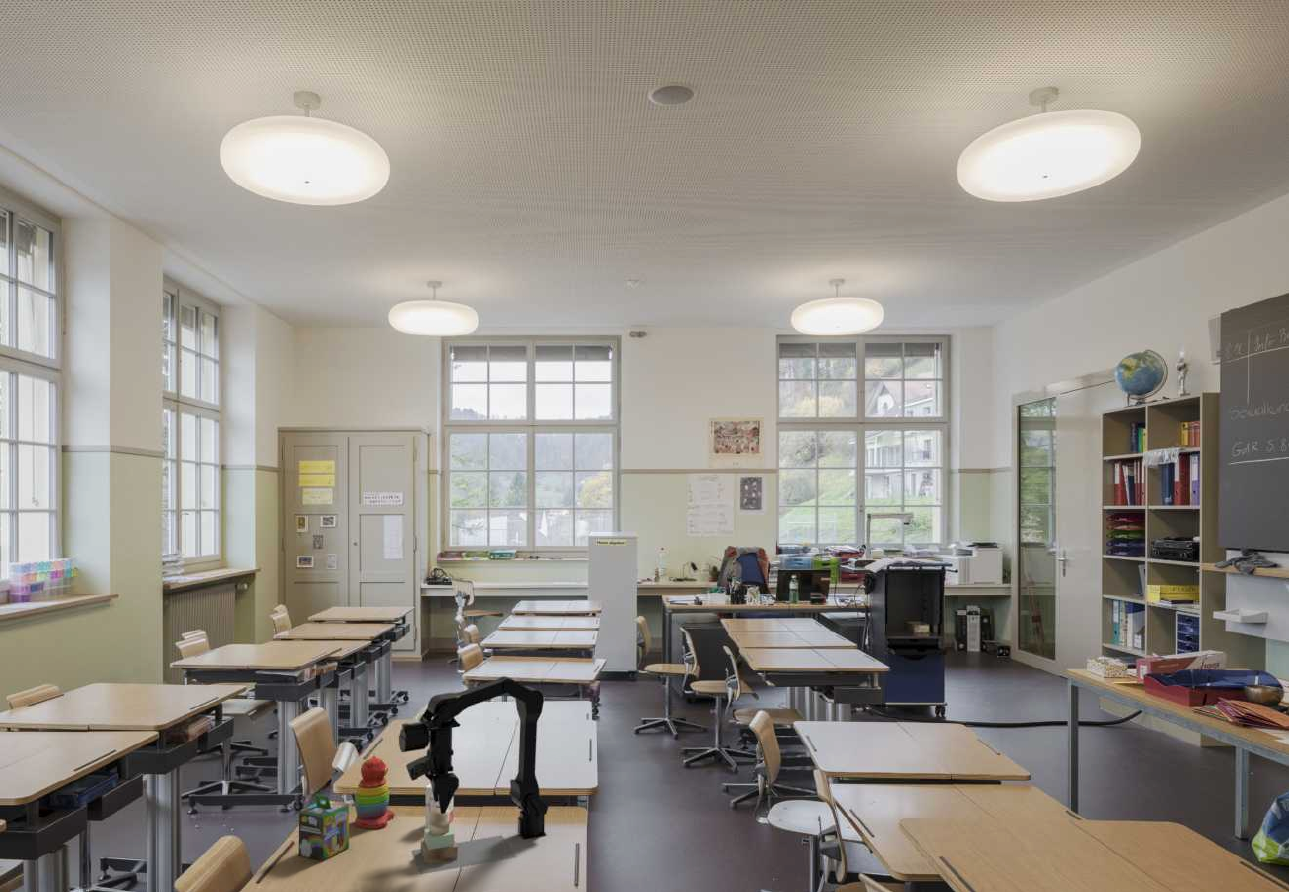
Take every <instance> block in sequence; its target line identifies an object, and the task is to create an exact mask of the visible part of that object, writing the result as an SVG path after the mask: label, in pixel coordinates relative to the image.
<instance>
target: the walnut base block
mask: <svg viewBox="0 0 1289 892" xmlns="http://www.w3.org/2000/svg"><path fill="white" fill-rule="evenodd" d="M456 843H457V842H456V841H455V840H454V846H452V847H446V848H440V849H434V850H428V849H427V846H426V844H425V842H424V839H421V840H420V849H421V855H422V857H423V860H424V862H425V864H431V863H437V862H442V861H448V860H454V859H458V846H457V844H456Z"/></svg>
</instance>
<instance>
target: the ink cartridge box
mask: <svg viewBox="0 0 1289 892" xmlns="http://www.w3.org/2000/svg"><path fill="white" fill-rule="evenodd" d="M448 773H454V770H453V771H450V772H448ZM454 796H455V794H454V795H453V797H452V799H451V801H450V804H449V806H448V808H447V809H449V824H450V823H451V822H452V821H453V820H454ZM438 808H440V805H439V801H438V802H435V801H434V796H433V792H432V787H431V783H429V784H428V785H427V786H425V829H428V828H429V815H430V811H431V810H434V809H438Z"/></svg>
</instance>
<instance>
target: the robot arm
mask: <svg viewBox="0 0 1289 892" xmlns="http://www.w3.org/2000/svg"><path fill="white" fill-rule="evenodd" d="M506 694H507V695H509V696H510V697H512V698H514V699H515V706H516V711H517V714H518V718H519V722H520V723H519V741H518V742H519V744H518V768H517V775H516V776H515V779H510V780H509V781H510V782H509V784H510V788H509V789H510V791H509V793H508V794H509V795H510V796H511V800H512V801H513V803H515V804H516V805H517V809H519V810H520V811H519V816H518V817H517V833H518V835H519V836H520V837H521V838H522V840H530V839H535V838H536V839H537V838H542V837H546V836H547V833H546V832H545V821H546V820H545V816H546V815H547V813H548V810H549V806H548V805H547V804H546V803H545V802H544V801H543V800H542V799H541V793H540V786H539V783H538V780H537V776H536V758H537V738H538V736H537V733H538V732H537V731H538V721H539V719H540V717H541V714H542V713H543V708H544V703H545V697H544V694H543V693H542V692H541V691H540V690H538V689H536V688H533V687H531V686H529V685H525V686H523V685H522V684H521V683H518V682H516V681H515V680H514V679H513V678H510V677H508V676H506V675H503V676H501V677H498V678H497V679H494V680H491V681H488V682H486V683H483V684H480V685H477V686H474V687H471V688H468V689H466V690H463V691H459V692H447V693H440V694H435V695H433V696H432V697H431V698H430V699H429V701H428V702H427V703H428V704H427V708H426V709H425V711H424V712H423V714H422V715H421V716H420V717H419V719H418V722H413V723H402V724H401V729H400V732H399V735H398V746H399V750H400V752H401V753H407V752H413V751H420V750H424V749H426V748H427V747H428V748H427V750H426V755H423V756H420V757H419V758H417V759H415V760H413V761H410V762H409V763H407V764H406V765H405V767H406V770H407V773H408V775H409V778H410V780H411V781H416V780H418V779H419V778H420V777H422V776H425V777H426V778H427V779H428V780H429V782H430V784H431V787H432V792H433V796H434V801H435V802H438V801H439V805H440V811H441V814H444V813H446V811H447V808H448V806H449V804H450V801H451V799H452V797H453V795H454V796H455V794H456V793H455V792H456V791H457V790H458V788H460V779H459V777H458V776H457V775H456V773H454V766H453V765H452V764H453V756H454V753H455V752H454V750H453V728H459V727H460V726H461V724H460V723H459V722H458V721H457V720H456V718H455V717H457V716H458V715H460V714H461V713H462V712H463V711H464V710H466V709H468V708H470V707H472V706H476V705H478V704H481V703H483V702H486V701H490V700H493V699H495V698H497V697H501V696H503V695H506ZM450 771H453V773H448V772H450Z"/></svg>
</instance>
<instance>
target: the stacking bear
mask: <svg viewBox="0 0 1289 892" xmlns="http://www.w3.org/2000/svg"><path fill="white" fill-rule="evenodd" d="M360 768H361V769H360V774H361V776H362V779H361V780H360V781H359V783H358V785H357V787H356V793H355V796H354V806H355V807H354V808H355V811H356V812H355V813H356V815H357V816H356V817H355V823H354V824H355V825H356V826H357V827H359V828H362V829H363V828H364V829H369V830H370V829H371V830H372V829H374V830H376V829H377V830H378V829H379V830H380V829H383V828H386V827H387V826H388V821H390V820H392V819H394V817H395V816H396V815H395V812H394V810H391V809H388V806H389V802H390V792H389V785H388V783H387V779H386V778H385V776H386V775H387V773H388V771H389V768H388V765H387V764H386V763H385V762H384V761H383V760H382V759H381V758H379V757H376V756H375V755H374V756H372V757H371V758H368V759H366V760H365V761H364V762H363V763H362V765H361V767H360ZM391 818H392V819H391ZM389 819H390V820H389Z"/></svg>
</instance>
